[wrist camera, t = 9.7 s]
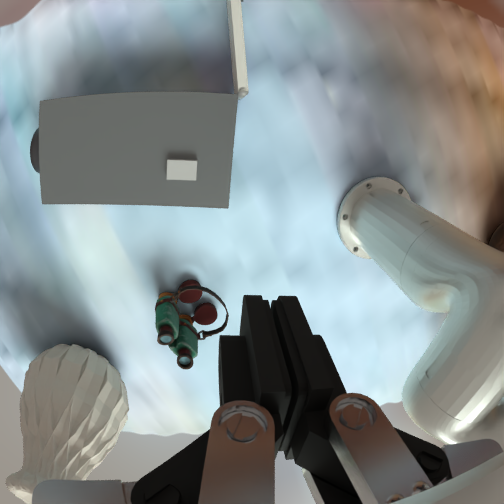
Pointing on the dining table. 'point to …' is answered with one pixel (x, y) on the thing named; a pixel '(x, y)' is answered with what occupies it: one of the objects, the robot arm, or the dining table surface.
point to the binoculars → (185, 321)
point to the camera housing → (136, 149)
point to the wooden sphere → (498, 238)
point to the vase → (67, 416)
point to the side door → (237, 48)
